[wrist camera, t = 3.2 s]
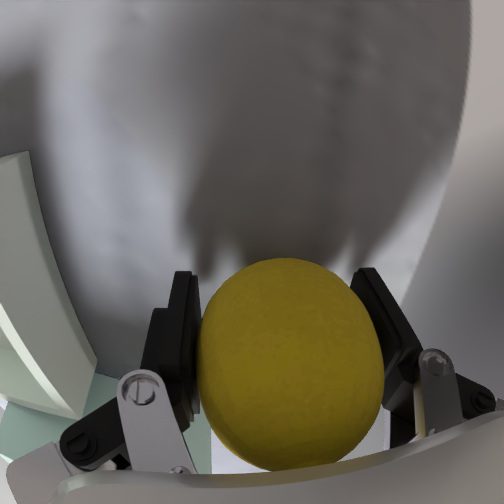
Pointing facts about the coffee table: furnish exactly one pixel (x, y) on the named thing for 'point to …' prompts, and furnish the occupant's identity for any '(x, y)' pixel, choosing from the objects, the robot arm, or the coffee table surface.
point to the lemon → (288, 365)
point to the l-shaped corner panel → (52, 426)
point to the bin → (36, 307)
